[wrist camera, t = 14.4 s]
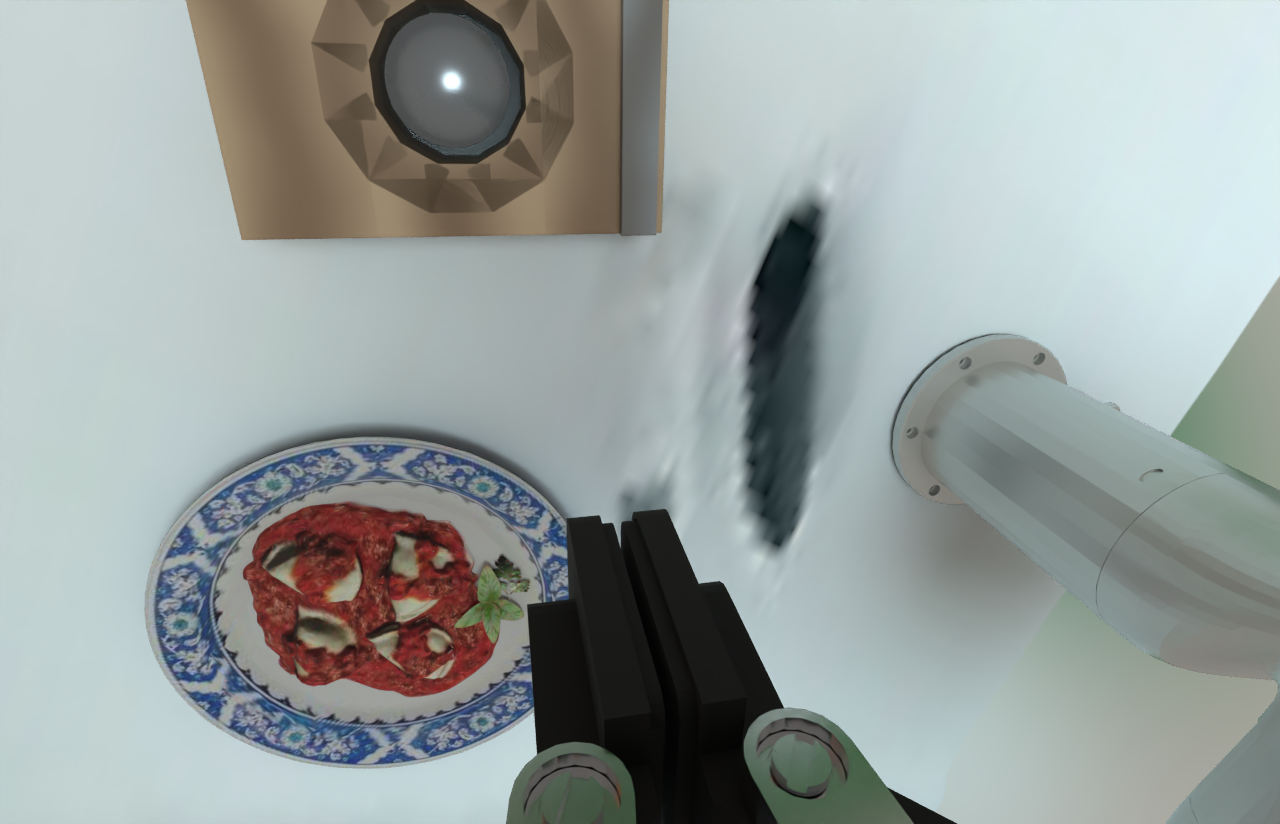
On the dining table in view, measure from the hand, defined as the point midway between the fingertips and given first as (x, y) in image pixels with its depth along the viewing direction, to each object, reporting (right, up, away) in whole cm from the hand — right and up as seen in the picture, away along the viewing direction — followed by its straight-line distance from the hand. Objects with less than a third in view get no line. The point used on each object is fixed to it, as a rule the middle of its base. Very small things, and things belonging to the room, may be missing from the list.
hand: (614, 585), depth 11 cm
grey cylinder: (-8, +18, +20) cm, 28 cm away
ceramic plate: (-16, -9, +32) cm, 37 cm away
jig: (-8, +18, +20) cm, 28 cm away
